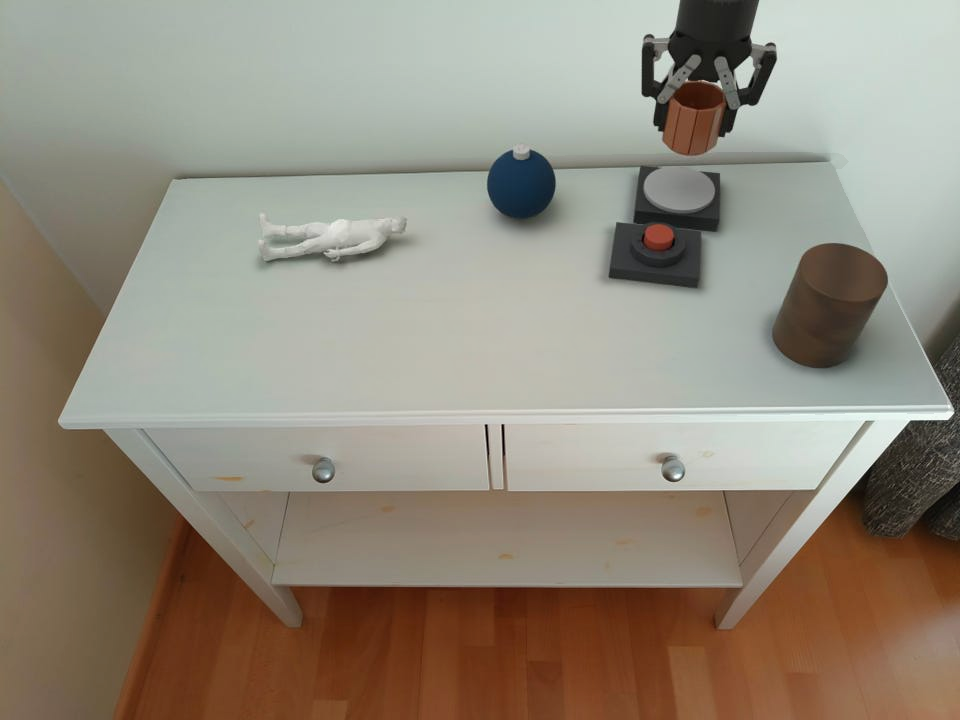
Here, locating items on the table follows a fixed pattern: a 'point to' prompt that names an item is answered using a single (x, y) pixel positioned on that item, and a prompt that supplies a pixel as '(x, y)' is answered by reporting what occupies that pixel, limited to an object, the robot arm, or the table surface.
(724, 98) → the orange wooden cup
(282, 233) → the figurine
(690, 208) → the scale
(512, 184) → the christmas ornament
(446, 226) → the table surface
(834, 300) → the stand
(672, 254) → the red push button box
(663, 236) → the button
